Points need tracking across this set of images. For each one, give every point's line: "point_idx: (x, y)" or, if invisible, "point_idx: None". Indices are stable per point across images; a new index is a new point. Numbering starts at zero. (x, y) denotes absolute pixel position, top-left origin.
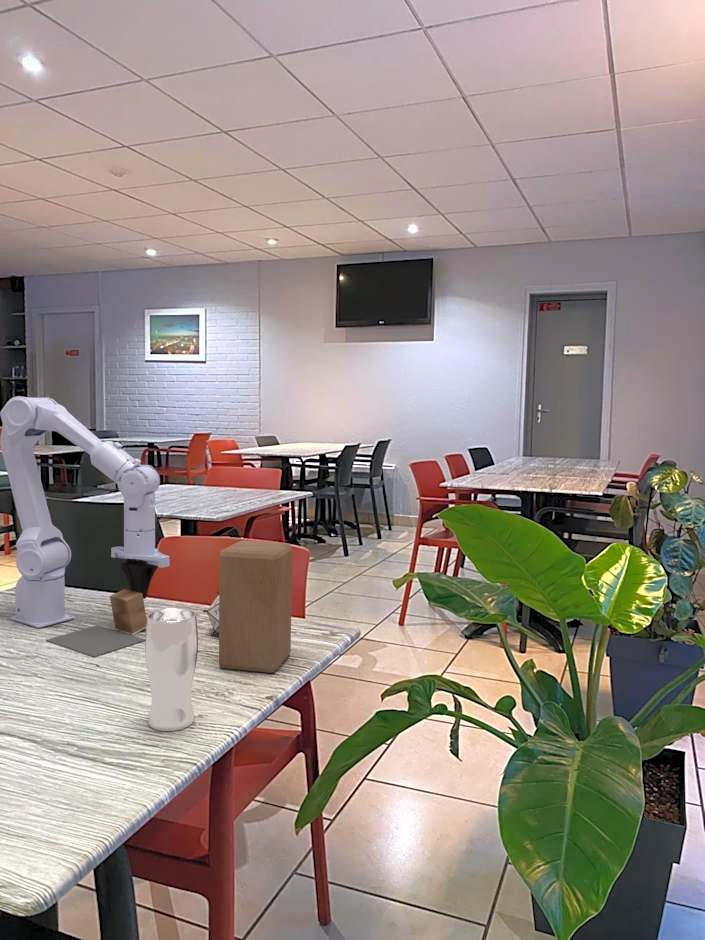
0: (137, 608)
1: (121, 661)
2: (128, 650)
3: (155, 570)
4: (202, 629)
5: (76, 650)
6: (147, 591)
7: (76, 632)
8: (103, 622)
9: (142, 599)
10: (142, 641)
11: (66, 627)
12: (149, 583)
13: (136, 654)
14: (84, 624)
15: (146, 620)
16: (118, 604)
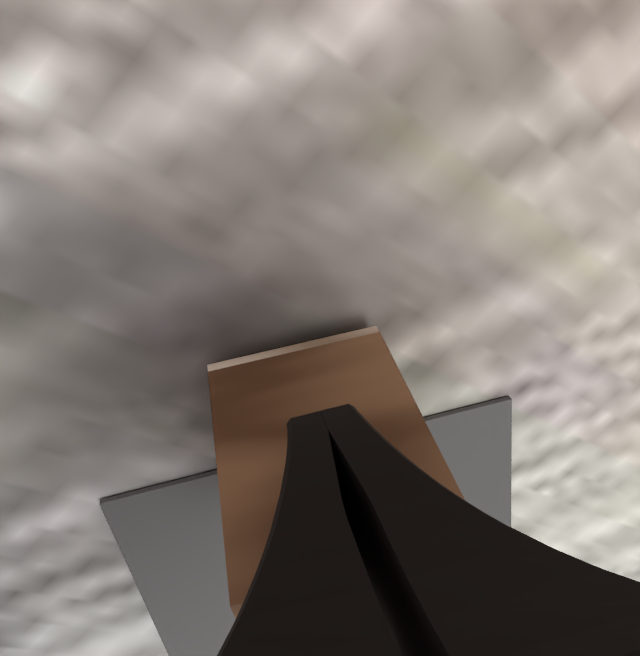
0: None
1: (615, 545)
2: (546, 494)
3: (595, 570)
4: (625, 23)
5: None
6: (374, 430)
7: (166, 603)
8: (37, 454)
9: (456, 489)
10: (510, 415)
11: (23, 613)
12: (427, 477)
13: (608, 486)
14: (17, 540)
15: (389, 355)
16: None
